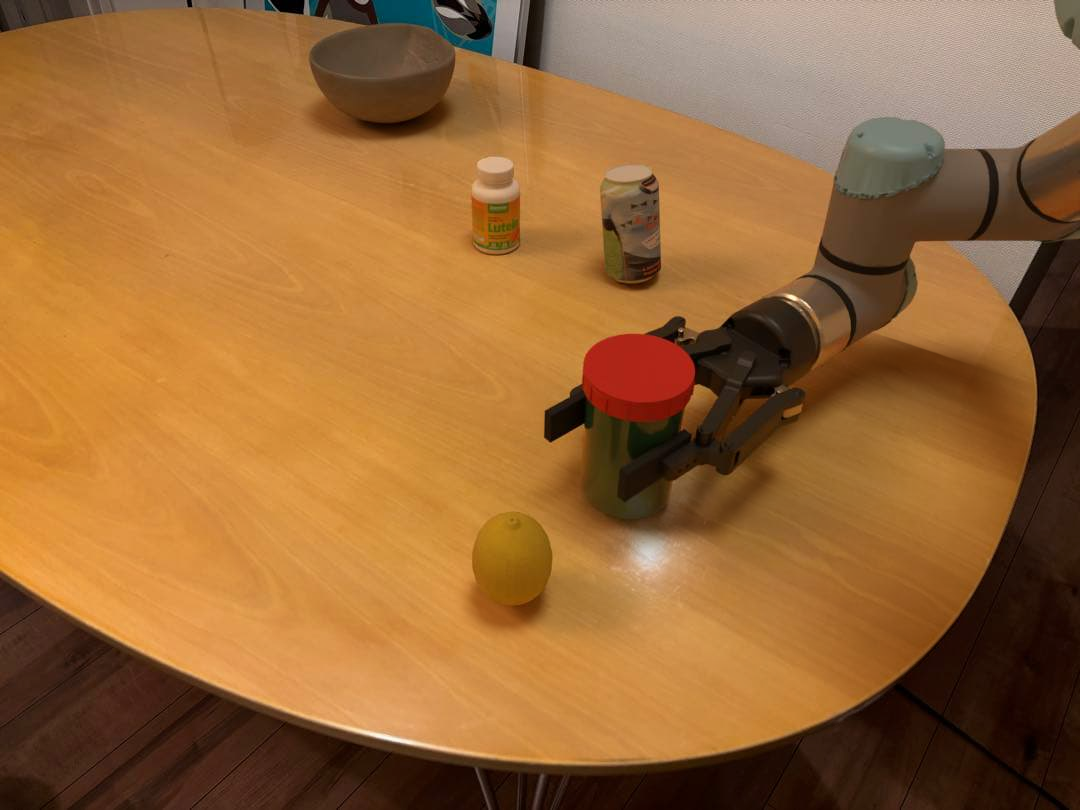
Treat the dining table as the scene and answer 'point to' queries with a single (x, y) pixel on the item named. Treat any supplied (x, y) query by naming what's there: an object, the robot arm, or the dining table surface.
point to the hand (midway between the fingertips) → (583, 455)
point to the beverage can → (631, 223)
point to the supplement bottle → (495, 206)
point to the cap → (638, 377)
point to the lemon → (512, 558)
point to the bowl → (383, 70)
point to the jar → (622, 461)
